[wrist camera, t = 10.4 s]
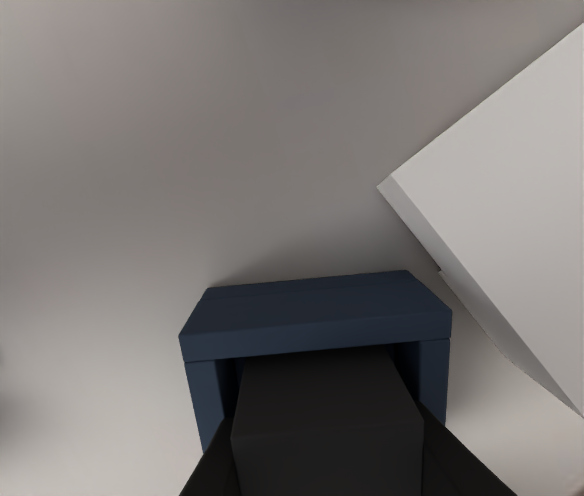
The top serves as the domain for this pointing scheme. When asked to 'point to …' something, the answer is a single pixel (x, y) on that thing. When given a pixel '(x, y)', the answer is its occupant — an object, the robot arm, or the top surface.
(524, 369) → the bracket
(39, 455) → the top surface
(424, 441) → the robot arm
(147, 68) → the top surface
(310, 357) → the black block
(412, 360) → the blue square tray
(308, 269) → the top surface
